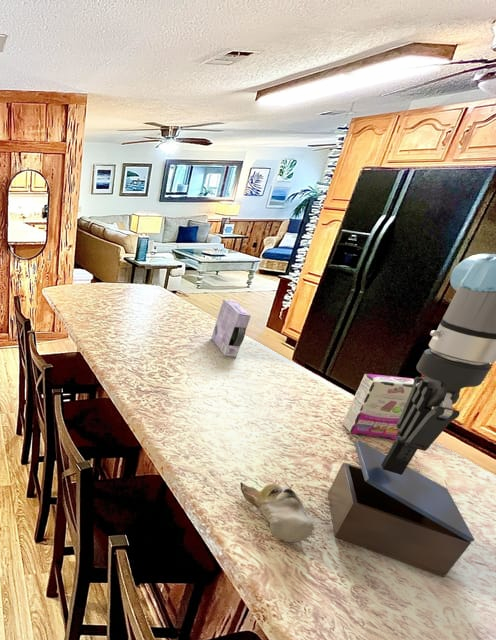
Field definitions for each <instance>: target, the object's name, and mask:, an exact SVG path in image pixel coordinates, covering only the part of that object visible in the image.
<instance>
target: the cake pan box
mask: <svg viewBox="0 0 496 640" xmlns="http://www.w3.org/2000/svg"><path fill="white" fill-rule="evenodd" d="M250 320H251V314H250V313H249V312H248V311H246V310H245V309H244V308H243V307H242V306H241V305H240V304H239V303H238V302H237V301H236V300H235V299H225V298H224V299H223V300H222V302H221V305H220V309H219V312H218V315H217V318H216V322H215V326H214V327H213V331H212V334H211V339H210V340H212V341H213V342H214V344H215V346H216V347H217V348H218V350H219V351H220V352H221V354H223V356H224V357H227V358H237V356H238V353H239V351H240V347H241V345H242V344H243V342H244V339H245V336H246V332H247V328H248V326H249V323H250Z"/></svg>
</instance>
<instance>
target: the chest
mask: <svg viewBox="0 0 496 640" xmlns="http://www.w3.org/2000/svg"><path fill="white" fill-rule="evenodd" d="M327 496H328V502H329V510H330V515H331V521H332V526H333V533H334V537H335V538H336V539H339V540H342V541H345V542H348V543H350V544H353V545H356V546H359V547H361V548H364V549H367V550H369V551H372V552H375V553H378V554H380V555H383V556H385V557H387V558H388V557H389V558H390V559H393V560H396V561H399V562H401V563H404V564H407V565H410V566H412V567H415V568H417V569H420V570H423V571H425V572H429V573H431V574H434V575H437V576H439V577H442V578H445V577H446V575H447V574H448V573H449V572H450V571H451V569H452V568H453V567H454V566H455V564H456V563H457V562H458V561H459V559H460V558H461V557H462V555H463V554H464V553H465V551H466V550H467V549H468V548H469V546H471V543H472V542H469V541H467V540H465V539H464V538H462V537H460V536H458V535H457V534H455V533H453V532H452V531H450V530H448V529H446V528H445V527H443V526H441V525H439V524H438V523H436V522H434V521H433V520H431V519H429V518H427V517H426V516H424V515H422V514H420V513H419V512H417V511H415V510H413V509H412V508H410V507H408V506H407V505H405V504H403V503H401V502H400V501H398V500H396V499H394V498H393V497H391V496H389V495H388V494H386V493H384V492H382V491H381V490H379V489H377V488H375V487H374V486H372V485H370V484H369V483H367V482H365V479H364V476H363V472H362V469H361V466H359V465H355V464H351V463H349V462H346V461H343V462H342V463H341V466H340V467H339V470H338V472H337V473H336V475H335V477H334V479H333V481H332V484H331V486H330V488H329V490H328V492H327Z"/></svg>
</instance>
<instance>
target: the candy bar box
mask: <svg viewBox="0 0 496 640" xmlns="http://www.w3.org/2000/svg"><path fill="white" fill-rule="evenodd" d="M414 379H415V378H411V377H401V376H394V375H393V376H392V375H383V374H382V375H381V374H373V373H364V375H363V377H362V379H361V381H360V383H359V386H358V388H357V390H356V392H355V395H354V398H353V399H352V401H351V403H350V406H349V408H348V411H347V412H346V415H345V417H344V419H343V421H342V426H343V427H344V428H345V430H347V431H348V432H349V433H350V434H351V435H352V434H353V435H359V436H367V437H374V438H375V437H376V438H381V439H382V438H383V439H391V440H395V439H396V437H399V436H398V435H397V432H398V430H399V429H400V428H397V427H396V425H397V423H398V420H399V418H400V416H401V413H402V411H403V409H404V406H405V404H406V402H407V399H408V397H409V395H410V392H411V390H412V387H413V383H414Z"/></svg>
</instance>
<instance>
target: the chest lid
mask: <svg viewBox="0 0 496 640" xmlns="http://www.w3.org/2000/svg"><path fill="white" fill-rule="evenodd" d="M353 444H354V448H355V451H356V455H357V459H358V462H359V465H360V467H361V469H362V472H363V476H364V479H365V482H367V483H369V484H370V485H372V486H374V487H375V488H377V489H379V490H381V491H382V492H384V493H386V494H388V495H389V496H391V497H393V498H394V499H396V500H398V501H400V502H401V503H403V504H405V505H407V506H408V507H410V508H412V509H413V510H415V511H417V512H419V513H420V514H422V515H424V516H426V517H427V518H429V519H431V520H433V521H434V522H436V523H438V524H439V525H441V526H443V527H445V528H446V529H448V530H450V531H452V532H453V533H455V534H457V535H458V536H460V537H462V538H464V539H465V540H467V541H469V542H471V543H472V542H475V538H474V535H473V534H472V532H471V530H470V528H469V526H468V525H467V523H466V521H465V519H464V517H463V515H462V513H461V512H460V510H459V508H458V506H457V504H456V502H455V501H454V499H453V497H452V495H451V493H450V491H449V489H448V488H447V487H445V486H443V485H441V484H439V483H438V482H436V481H435V480H432V479H431V478H428V477H427V476H425V475H423V474H421V473H419V472H418V471H416V470H414V469H412V468H410V467H408V466H407V467H406V469H405V471H404V472H403V474H402V475H400V474H397V473H394V472H390V471H387V470H383V469H382V466H381V464H382V462H383V461H384V459H385V457H386V455H387V454H385V453H384V452H382V451H379V450H378V449H376V448H374V447H372V446H371V445H369V444H367V443H365V442H363V441H361V440H360V439H358V438H356V439H355V440H353Z"/></svg>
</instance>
